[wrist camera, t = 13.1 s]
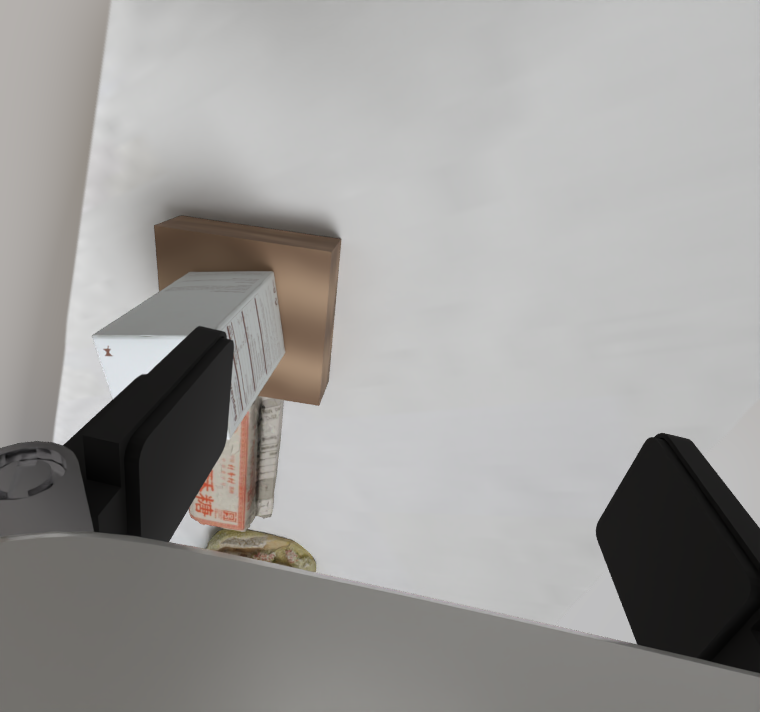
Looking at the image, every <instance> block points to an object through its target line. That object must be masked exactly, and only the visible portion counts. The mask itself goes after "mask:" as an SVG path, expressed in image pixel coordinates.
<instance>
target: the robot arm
mask: <svg viewBox="0 0 760 712" xmlns="http://www.w3.org/2000/svg"><path fill="white" fill-rule="evenodd" d="M233 354H234V341H233V340H230V339H227V335H226V332H224V331H220V330H216V329H211V328H207V327H203V326H198V327H196V328H195V329H194V330H193V331H192V332H191V333H190V334H189V335H188V336H187V337H186V338H185V339H184V340H182V341H181V342H180V343H179V344H178V345H177V346H176V347H175V348H174V349H173V350H172V351H171V352H170V353H169V354H168V355H167V356H166V357H164V358H163V359H162V360H161V361H160V362H159V363H158V364H157V365H156V366H155V367H154V368H153V369H152V370H151V371H150V372H149V373H148V374H141V375H140V376H138V377H137V378H136V379H134V380H133V381H132V382H131V383H130V384H129V385H128V386H127V387H126V388H125V389H124V390H123V391H121V392H120V393H119V394H118V395H117V396H116V397H115V398H114V399H113V400H112V401H111V402H110V403H108V404H107V405H106V406H105V407H104V408H103V409H102V410H101V411H100V412H99V413H98V414H97V415H96V416H94V417H93V418H92V419H91V420H90V421H89V422H88V423H87V424H86V425H85V426H84V427H83V428H81V429H80V430H79V431H78V432H77V433H76V434H75V435H74V436H73V437H72V438H71V439H70V440H68V441H67V442H66V443H65V444H64V445H59V444H56V443H53V442H40V441H34V442H25V443H17V444H14V445H10V446H6V447H2V448H0V712H760V528H759V527H758V526H757V524H756V523H755V522H754V520H753V519H752V518H751V517H750V515H749V514H748V513H747V511H746V510H745V509H744V508H743V506H742V505H741V504H740V502H739V501H738V500H737V499H736V497H735V496H734V495H733V494H732V492H731V491H730V490H729V488H728V487H727V486H726V484H725V483H724V482H723V481H722V479H721V478H720V477H719V476H718V474H717V473H716V472H715V470H714V469H713V468H712V467H711V465H710V464H709V463H708V461H707V460H706V459H705V457H704V456H703V455H702V454H701V452H700V451H699V450H698V448H697V447H696V446H695V445H694V443H693V442H692V441H691V440H690V439H686V438H682V437H678V436H674V435H669V434H665V433H660V434H657V435H656V436H655V437H651V438H648V439H647V440H646V441H645V443H644V445H643V446H642V448H641V450H640V451H639V453H638V455H637V456H636V458H635V460H634V462H633V463H632V465H631V467H630V468H629V470H628V472H627V473H626V475H625V477H624V479H623V480H622V482H621V484H620V485H619V487H618V489H617V490H616V492H615V494H614V496H613V497H612V499H611V501H610V502H609V504H608V506H607V507H606V509H605V511H604V513H603V514H602V516H601V518H600V519H599V521H598V523H597V527H596V537H597V540H598V543H599V546H600V548H601V551H602V553H603V556H604V559H605V561H606V564H607V567H608V569H609V572H610V574H611V577H612V580H613V582H614V585H615V587H616V590H617V593H618V595H619V598H620V600H621V603H622V606H623V608H624V611H625V613H626V616H627V619H628V621H629V624H630V626H631V629H632V632H633V634H634V637H635V639H636V642H637V644H632V643H628V642H623V641H619V640H615V639H611V638H606V637H602V636H598V635H593V634H589V633H584V632H580V631H575V630H572V629H567V628H563V627H558V626H554V625H550V624H545V623H541V622H536V621H532V620H528V619H523V618H519V617H514V616H510V615H505V614H501V613H497V612H492V611H488V610H483V609H479V608H474V607H470V606H465V605H461V604H456V603H452V602H447V601H443V600H439V599H434V598H430V597H425V596H421V595H416V594H412V593H407V592H403V591H398V590H394V589H389V588H384V587H380V586H375V585H371V584H366V583H362V582H357V581H352V580H348V579H343V578H339V577H334V576H330V575H325V574H320V573H316V572H311V571H307V570H302V569H298V568H293V567H289V566H284V565H279V564H275V563H270V562H266V561H261V560H256V559H251V558H247V557H242V556H237V555H232V554H228V553H223V552H218V551H213V550H209V549H203V548H198V547H193V546H187V545H182V544H176V543H171V542H169V541H170V539H171V537H172V536H173V534H174V532H175V531H176V529H177V527H178V526H179V524H180V522H181V521H182V519H183V517H184V516H185V514H186V512H187V511H188V509H189V507H190V506H191V504H192V502H193V501H194V499H195V497H196V496H197V494H198V492H199V491H200V489H201V487H202V486H203V484H204V482H205V481H206V479H207V477H208V476H209V474H210V472H211V471H212V469H213V467H214V466H215V464H216V462H217V461H218V459H219V457H220V456H221V454H222V452H223V450H224V447H225V444H226V440H227V431H228V418H229V406H230V393H231V380H232V367H233Z"/></svg>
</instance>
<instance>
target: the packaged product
mask: <svg viewBox="0 0 760 712" xmlns="http://www.w3.org/2000/svg"><path fill="white" fill-rule="evenodd" d="M283 401H284V400H280V399H274V398H268V397H261V396H257V398H256V399H255V401H254V403H253V404H252V406H251V407H250V409H249V410H248V412H247V413H246V415H245V417H244V418H243V420H242V421H241V423H240V424H239V426H238V427H237V429H236V431H235V432H234V434H233V435H232V437H231V439H230V440H226V444H225V447H224V450H223V452H222V454H221V456H220V457H219V459H218V461H217V462H216V464H215V466H214V467H213V469H212V471H211V472H210V474H209V476H208V477H207V479H206V481H205V482H204V484H203V486H202V487H201V489H200V491H199V492H198V494H197V496H196V497H195V499H194V501H193V502H192V504H191V506H190V507H189V513H190V516H191V518H193V519H195V520H196V521H198V522H199V523H200V524H203V525H205V524H207V525H210V526H217V527H221V528H224V529H229V530H236V531H241V532H246V530H247V529H248V528H249V527H250V524H251V523H252V521H253V520H254V518H255V516H259V517H263V518H268V517H271V515H272V511H273V501H274V488H275V482H276V475H277V466H278V457H279V449H280V439H281V428H282V416H283Z"/></svg>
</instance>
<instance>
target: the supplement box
mask: <svg viewBox="0 0 760 712" xmlns="http://www.w3.org/2000/svg"><path fill="white" fill-rule="evenodd" d="M198 326H203V327H207V328H211V329H216V330H220V331H224V332H226V335H227V339H230V340H233V341H234V354H233V367H232V380H231V393H230V406H229V418H228V431H227V440H230V439H231V437H232V435H233V434H234V432H235V431H236V429H237V427H238V426H239V424H240V423H241V421H242V420H243V418H244V417H245V415H246V413H247V412H248V410H249V409H250V407H251V406H252V404H253V403H254V401H255V399H256V398H257V396H258V395H259V393H260V391H261V390H262V388H263V387H264V385H265V384H266V382H267V381H268V379H269V377H270V376H271V374H272V373H273V371H274V370H275V368H276V367H277V365H278V364H279V362H280V360H281V359H282V357H283V356H284V354H285V348H284V340H283V333H282V326H281V319H280V312H279V305H278V298H277V291H276V285H275V277H274V272H273V271H228V272H188V273H187V274H186V275H184V276H183V277H181V278H180V279H178V280H176V281H175V282H173V283H172V284H170V285H169V286H167V287H166V288H164V289H163V290H161V291H160V292H158V293H157V294H155V295H154V296H152V297H150V298H149V299H147V300H146V301H144V302H143V303H141V304H140V305H138V306H137V307H135V308H133V309H132V310H130V311H129V312H127V313H126V314H124V315H123V316H121V317H120V318H118V319H117V320H115V321H113V322H112V323H110V324H109V325H107V326H106V327H104V328H103V329H101V330H100V331H98V332H97V333H95V334H94V335H92V338H93V341H94V344H95V347H96V351H97V354H98V357H99V360H100V363H101V366H102V369H103V372H104V375H105V378H106V381H107V384H108V387H109V390H110V393H111V396H112V399H114V398H115V397H116V396H117V395H118V394H119V393H120V392H121V391H123V390H124V389H125V388H126V387H127V386H128V385H129V384H130V383H131V382H132V381H133V380H134V379H136V378H137V377H138V376H140V375H141V374H148V373H149V372H150V371H151V370H152V369H153V368H154V367H155V366H156V365H157V364H158V363H159V362H160V361H161V360H162V359H163V358H164V357H166V356H167V355H168V354H169V353H170V352H171V351H172V350H173V349H174V348H175V347H176V346H177V345H178V344H179V343H180V342H181V341H182V340H184V339H185V338H186V337H187V336H188V335H189V334H190V333H191V332H192V331H193V330H194V329H195V328H196V327H198Z"/></svg>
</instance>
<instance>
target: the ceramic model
mask: <svg viewBox="0 0 760 712" xmlns="http://www.w3.org/2000/svg"><path fill="white" fill-rule="evenodd" d="M206 549H209V550H213V551H218V552H223V553H228V554H232V555H237V556H242V557H247V558H251V559H256V560H261V561H266V562H270V563H275V564H279V565H284V566H289V567H293V568H298V569H302V570H307V571H311V572H316V563H315V561H314V559H313V557H312V556H311V554H310V553H309V552H308V551H306V550H305V549H304V548H303V547H302V546H300V545H299V544H298V543H296V542H294V541H292V540H289V539H285V538H281V537H277V536H274V535H270V534H266V533H261V532H257V531H251V530H246V532H241V531H236V530H229V529H223V530H220V531H218V532H217V533H216V534H215V535H214V536H213V537H212V538H211V540H210V541H209V542H208V547H207V548H206Z"/></svg>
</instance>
